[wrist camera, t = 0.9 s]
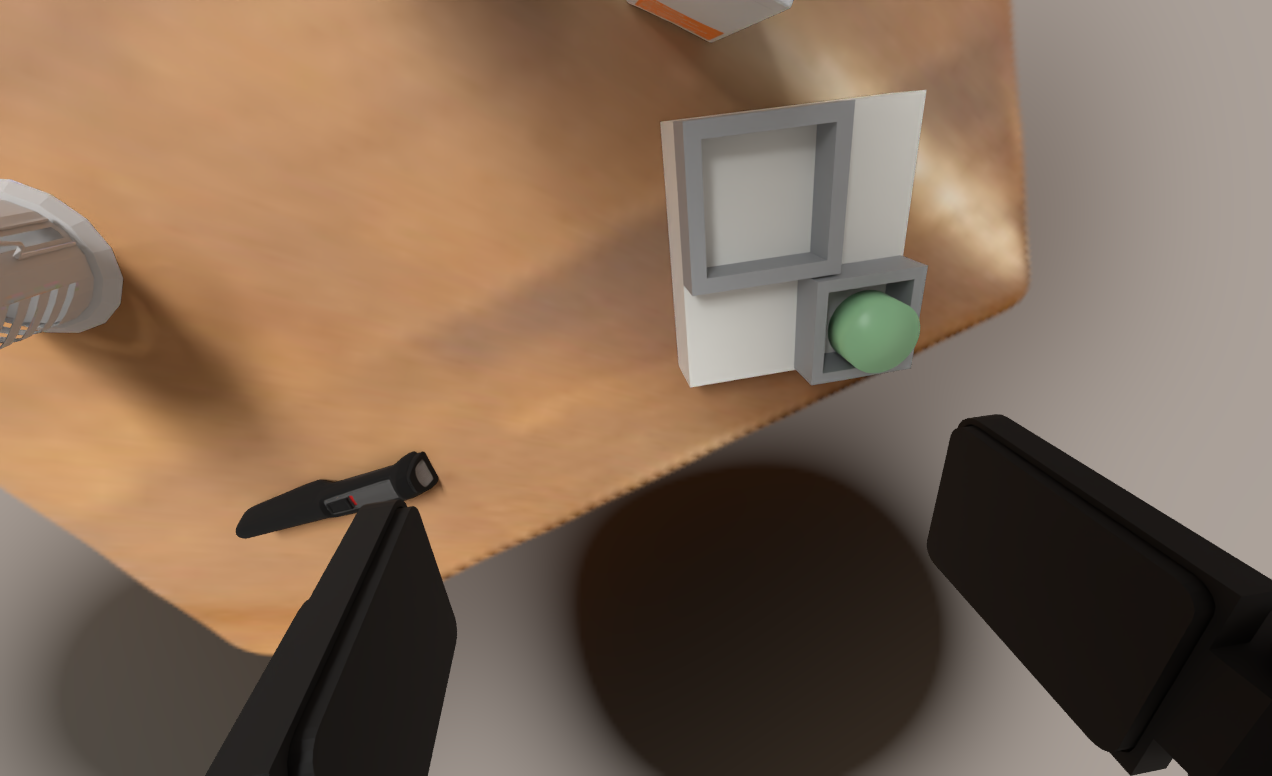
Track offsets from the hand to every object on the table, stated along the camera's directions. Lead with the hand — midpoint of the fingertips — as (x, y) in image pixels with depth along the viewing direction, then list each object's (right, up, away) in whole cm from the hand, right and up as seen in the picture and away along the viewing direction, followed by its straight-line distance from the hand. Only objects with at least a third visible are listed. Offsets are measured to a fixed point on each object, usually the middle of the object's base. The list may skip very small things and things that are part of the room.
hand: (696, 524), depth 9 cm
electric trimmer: (-26, -6, +35) cm, 43 cm away
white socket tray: (+9, +13, +30) cm, 34 cm away
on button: (+15, +7, +27) cm, 31 cm away
